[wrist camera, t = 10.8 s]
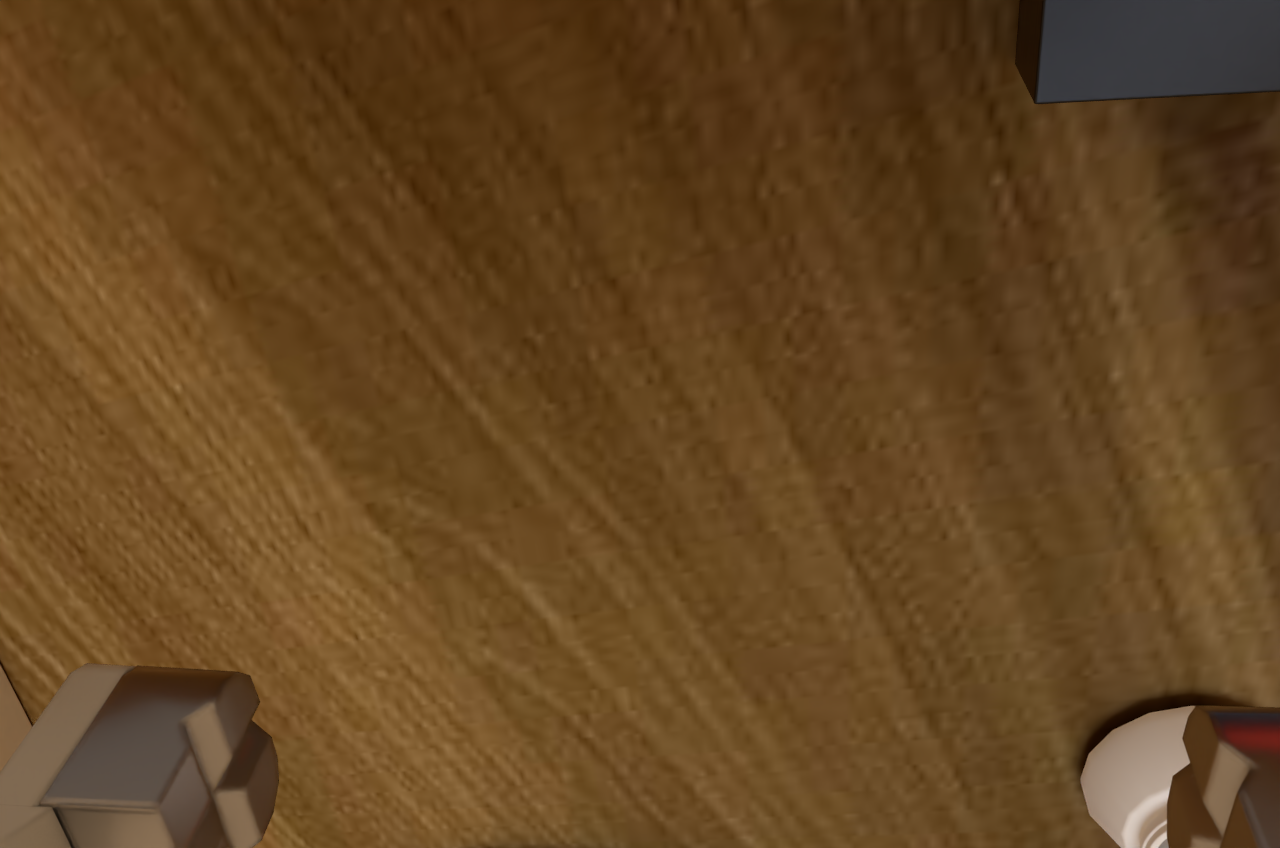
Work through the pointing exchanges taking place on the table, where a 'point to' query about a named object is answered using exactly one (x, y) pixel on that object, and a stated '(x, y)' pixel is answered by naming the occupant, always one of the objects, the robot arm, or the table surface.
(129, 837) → the robot arm
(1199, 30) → the control block
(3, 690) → the panel
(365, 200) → the table surface
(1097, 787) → the lidless jar
